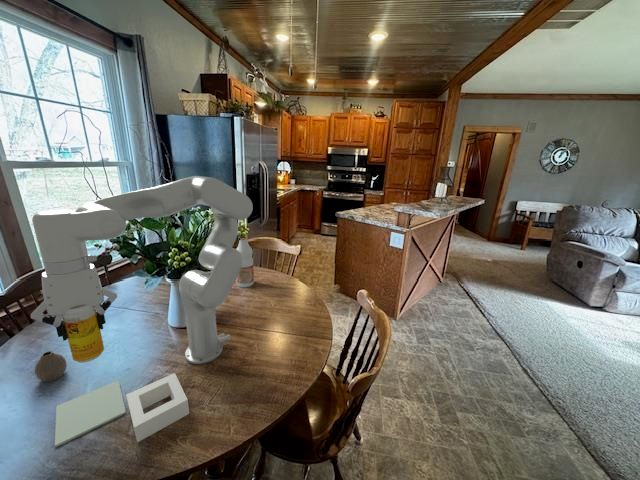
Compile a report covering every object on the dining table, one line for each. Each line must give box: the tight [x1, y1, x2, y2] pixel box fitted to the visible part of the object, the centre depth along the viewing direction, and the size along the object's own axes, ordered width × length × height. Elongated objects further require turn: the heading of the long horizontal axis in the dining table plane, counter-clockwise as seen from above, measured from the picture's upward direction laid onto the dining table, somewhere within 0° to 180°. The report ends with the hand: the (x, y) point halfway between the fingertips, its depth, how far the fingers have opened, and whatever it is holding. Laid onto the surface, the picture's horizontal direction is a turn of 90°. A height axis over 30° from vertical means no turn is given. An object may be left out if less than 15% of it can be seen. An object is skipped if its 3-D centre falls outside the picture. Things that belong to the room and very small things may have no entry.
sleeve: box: [125, 372, 190, 443], centre depth 73 cm, size 12×12×5 cm
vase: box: [34, 350, 68, 383], centre depth 83 cm, size 7×7×9 cm
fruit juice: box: [235, 235, 255, 288], centre depth 146 cm, size 9×9×28 cm
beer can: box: [62, 305, 105, 364], centre depth 66 cm, size 6×6×15 cm
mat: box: [54, 380, 126, 448], centre depth 74 cm, size 14×14×1 cm
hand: (83, 331), depth 66 cm, fingers closed on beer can, 6 cm apart
